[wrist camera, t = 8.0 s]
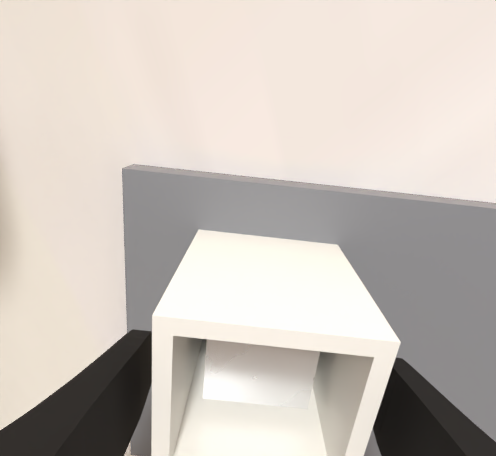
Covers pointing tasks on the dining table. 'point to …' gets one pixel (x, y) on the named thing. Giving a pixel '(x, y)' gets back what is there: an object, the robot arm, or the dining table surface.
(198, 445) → the collar
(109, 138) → the dining table surface
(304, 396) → the duct stub
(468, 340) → the duct panel
